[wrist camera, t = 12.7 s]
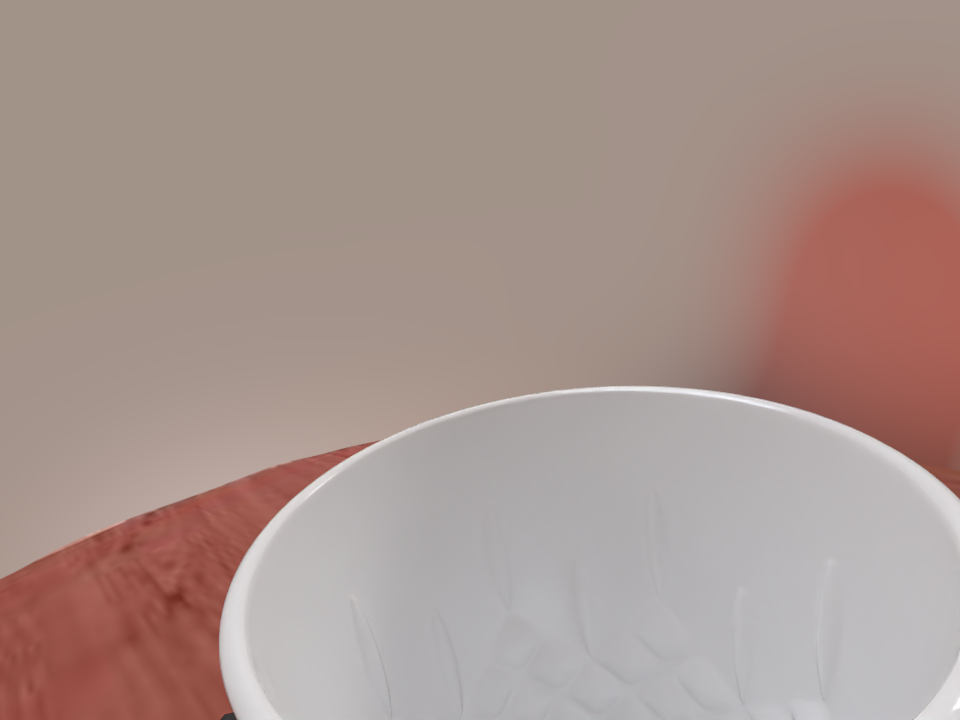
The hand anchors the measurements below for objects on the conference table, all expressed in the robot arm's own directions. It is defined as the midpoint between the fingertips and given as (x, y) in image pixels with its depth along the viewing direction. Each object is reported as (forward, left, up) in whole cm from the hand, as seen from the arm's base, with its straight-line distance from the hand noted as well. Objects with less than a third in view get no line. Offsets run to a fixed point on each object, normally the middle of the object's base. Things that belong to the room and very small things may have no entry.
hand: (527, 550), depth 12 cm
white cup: (0, +5, -6) cm, 8 cm away
